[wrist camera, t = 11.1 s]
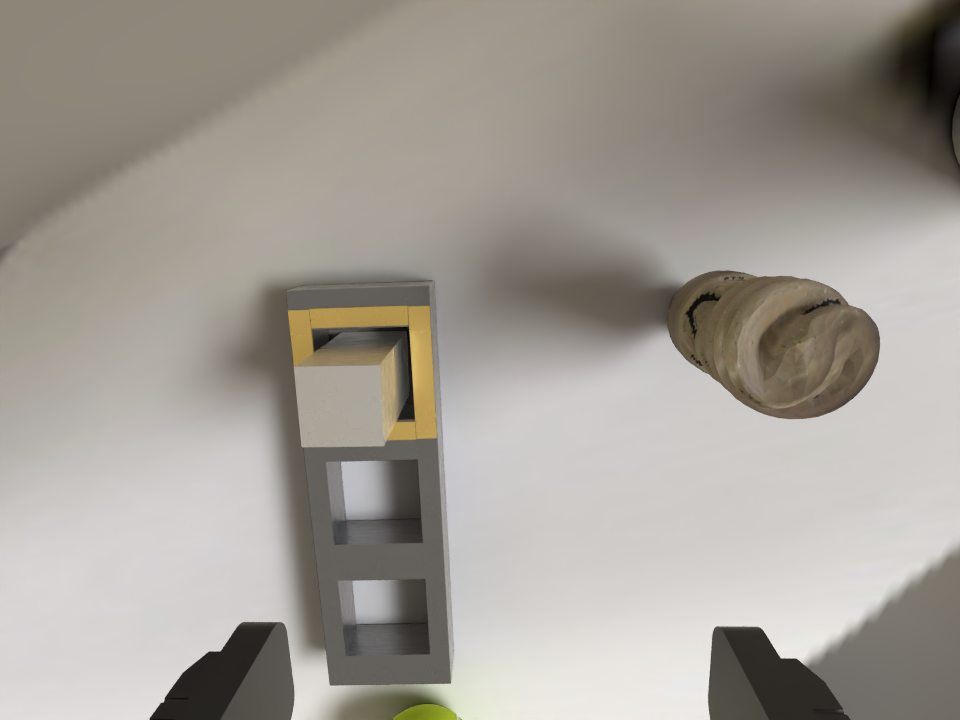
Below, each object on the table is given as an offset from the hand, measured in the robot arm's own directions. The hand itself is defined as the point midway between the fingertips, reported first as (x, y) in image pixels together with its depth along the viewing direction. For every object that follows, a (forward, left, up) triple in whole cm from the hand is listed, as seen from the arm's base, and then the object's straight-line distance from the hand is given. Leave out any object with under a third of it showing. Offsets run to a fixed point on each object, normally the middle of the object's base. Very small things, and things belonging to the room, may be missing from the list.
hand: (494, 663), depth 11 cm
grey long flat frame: (+7, +8, -26) cm, 28 cm away
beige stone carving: (-12, -3, -26) cm, 28 cm away
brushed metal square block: (+7, 0, -26) cm, 27 cm away
